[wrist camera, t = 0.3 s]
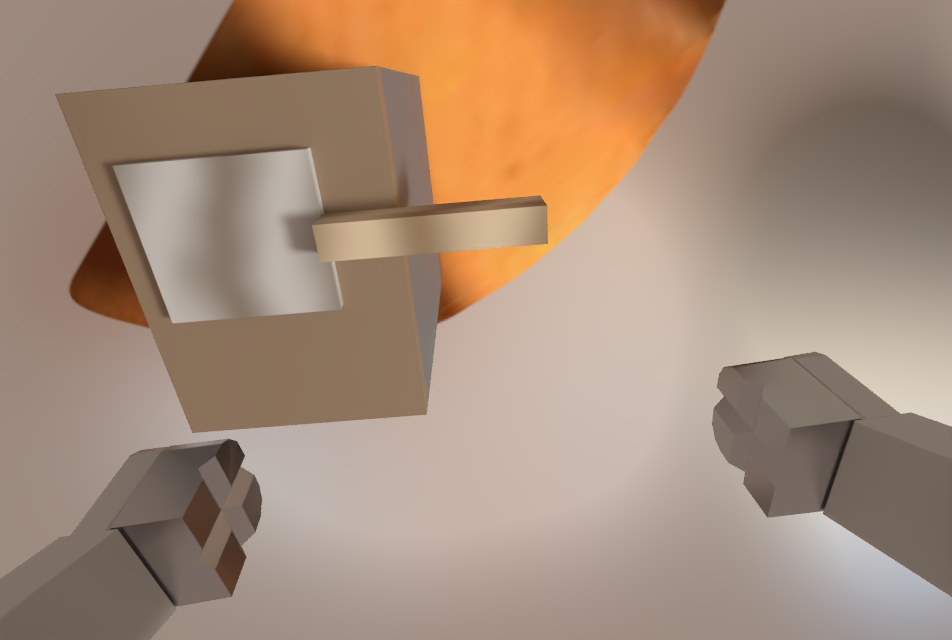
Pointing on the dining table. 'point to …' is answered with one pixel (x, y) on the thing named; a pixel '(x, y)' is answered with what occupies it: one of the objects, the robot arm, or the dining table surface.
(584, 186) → the dining table surface
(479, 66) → the dining table surface
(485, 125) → the dining table surface
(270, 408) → the grey box
